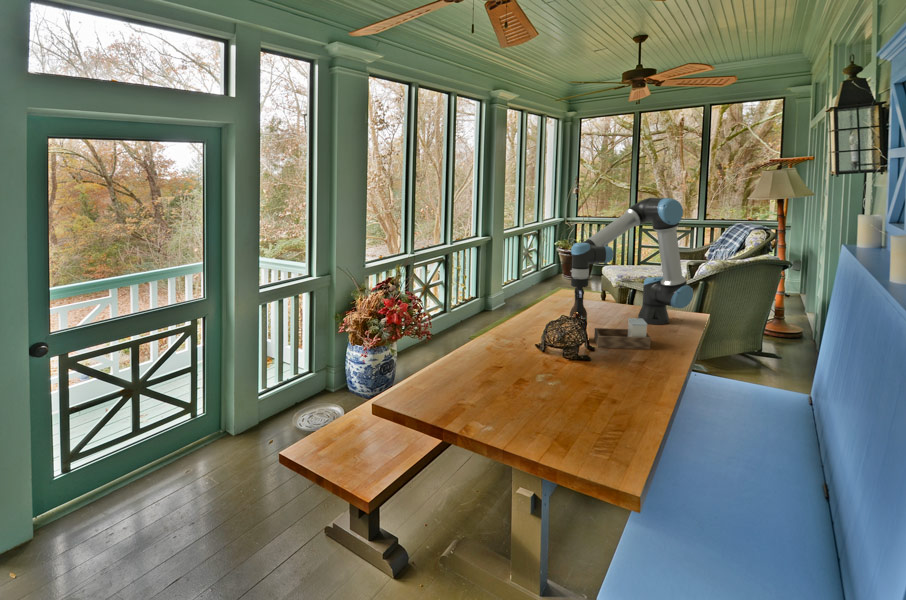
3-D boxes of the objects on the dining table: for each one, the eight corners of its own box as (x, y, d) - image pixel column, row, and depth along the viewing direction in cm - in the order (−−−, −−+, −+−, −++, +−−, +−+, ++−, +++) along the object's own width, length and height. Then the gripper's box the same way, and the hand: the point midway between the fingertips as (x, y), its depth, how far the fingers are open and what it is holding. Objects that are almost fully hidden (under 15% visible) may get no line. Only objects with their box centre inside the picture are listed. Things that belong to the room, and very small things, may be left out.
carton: (641, 338, 249) (642, 318, 246) (646, 345, 238) (647, 324, 236) (626, 338, 249) (628, 318, 247) (630, 345, 239) (632, 324, 237)
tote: (643, 340, 250) (644, 329, 249) (649, 349, 237) (650, 338, 236) (594, 338, 253) (594, 328, 252) (597, 347, 240) (598, 336, 239)
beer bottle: (576, 342, 247) (578, 290, 241) (565, 338, 253) (567, 287, 248) (589, 340, 250) (592, 289, 245) (578, 336, 257) (580, 286, 252)
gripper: (569, 273, 256) (567, 320, 261) (573, 281, 236) (570, 332, 241) (586, 273, 255) (584, 321, 260) (590, 281, 235) (588, 333, 240)
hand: (577, 326), depth 250 cm, fingers closed on beer bottle, 8 cm apart
